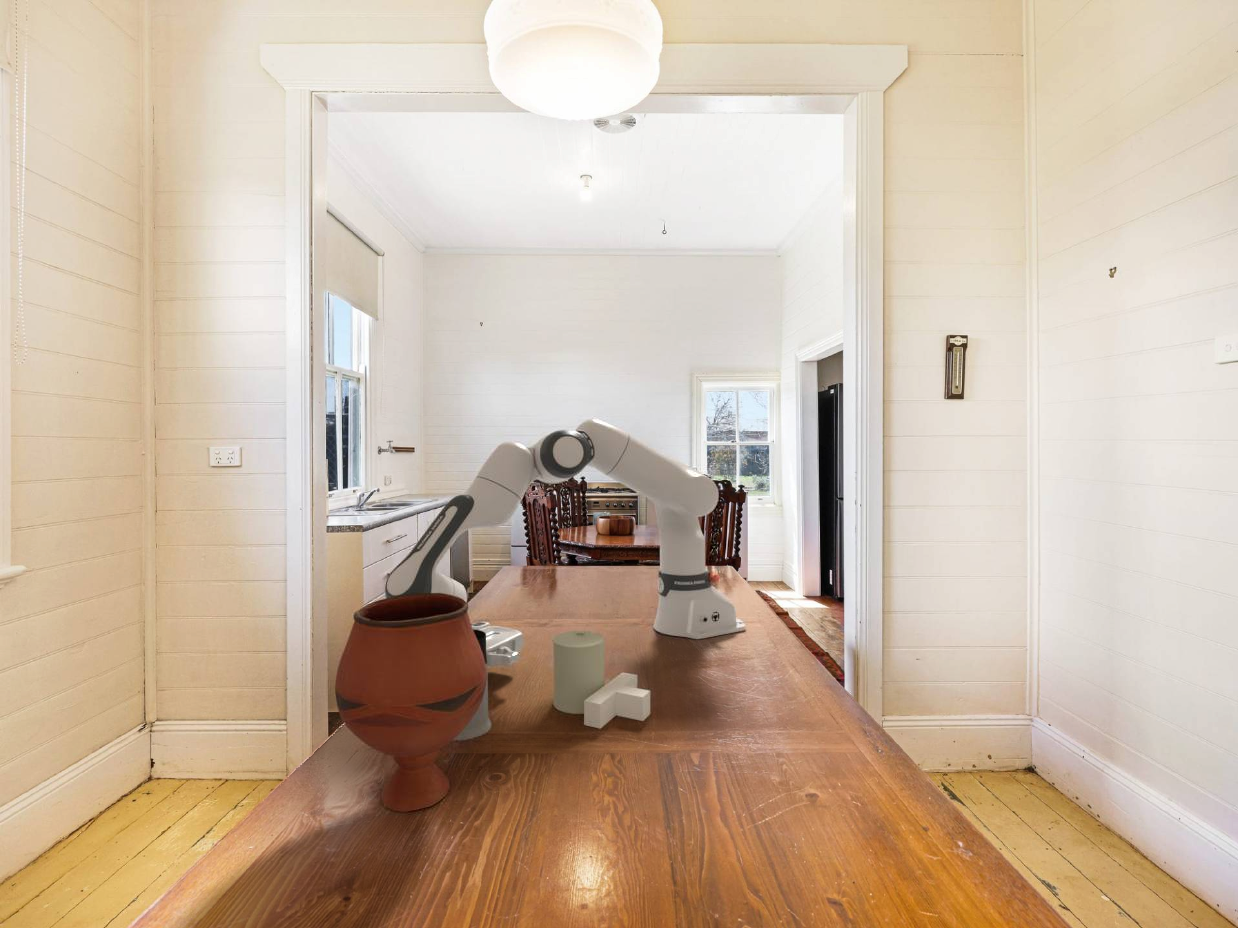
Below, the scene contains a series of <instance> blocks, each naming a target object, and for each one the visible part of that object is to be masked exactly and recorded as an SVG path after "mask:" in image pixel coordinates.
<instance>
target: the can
mask: <svg viewBox="0 0 1238 928" xmlns="http://www.w3.org/2000/svg"><path fill="white" fill-rule="evenodd" d="M605 640H606V639H605V636H604V635H603V634H601V633H598V632H595V631H590V630H588V631H587V630H573V631H566V632H562V633H559V634H557V635H555V636H554V637H553V639H552V643H553V645H552V646H553V680H554V681H553V700H552V701H553V702H552V705H553V707H554V708H555V709H556V710H558V711H559V712H562V713H565V714H570V715H573V714H574V715H583V714H584V700H586V699H587V698H588V697H590V696H591V695H593V694H594V693H595V692H597V691H598V690H599V689H601V688H602V687H603V686H605Z"/></svg>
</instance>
